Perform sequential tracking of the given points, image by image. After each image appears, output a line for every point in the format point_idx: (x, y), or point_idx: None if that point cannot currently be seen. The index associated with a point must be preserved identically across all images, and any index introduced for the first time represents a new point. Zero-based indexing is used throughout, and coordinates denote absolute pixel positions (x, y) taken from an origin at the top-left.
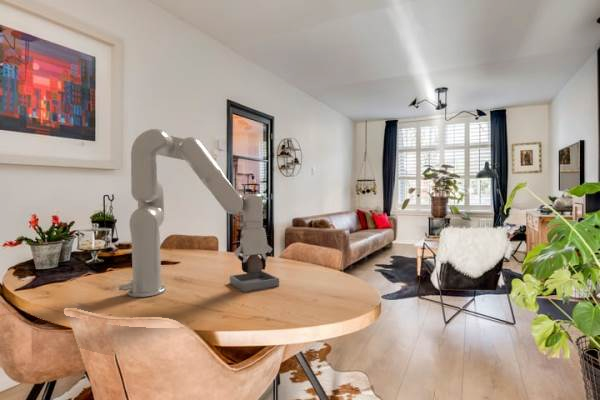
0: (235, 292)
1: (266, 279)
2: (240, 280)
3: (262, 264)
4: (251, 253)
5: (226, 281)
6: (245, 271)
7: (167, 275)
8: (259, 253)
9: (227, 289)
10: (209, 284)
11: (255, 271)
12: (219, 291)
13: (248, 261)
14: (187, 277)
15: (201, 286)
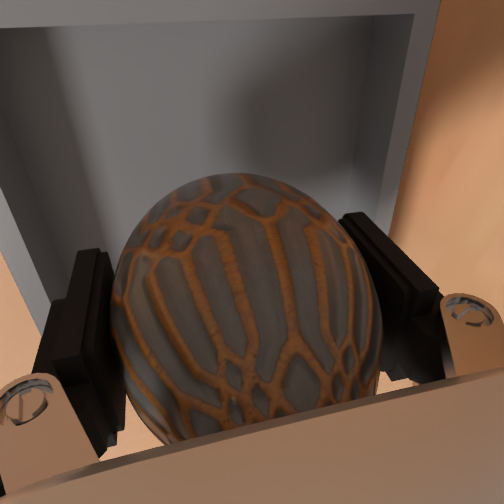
0: (437, 42)
1: (60, 261)
2: None
3: (119, 284)
4: (500, 409)
5: None
6: (363, 221)
7: None
8: (230, 445)
9: (431, 162)
10: None
11: (255, 175)
12: (495, 141)
13: (381, 317)
14: None
15: (491, 287)
